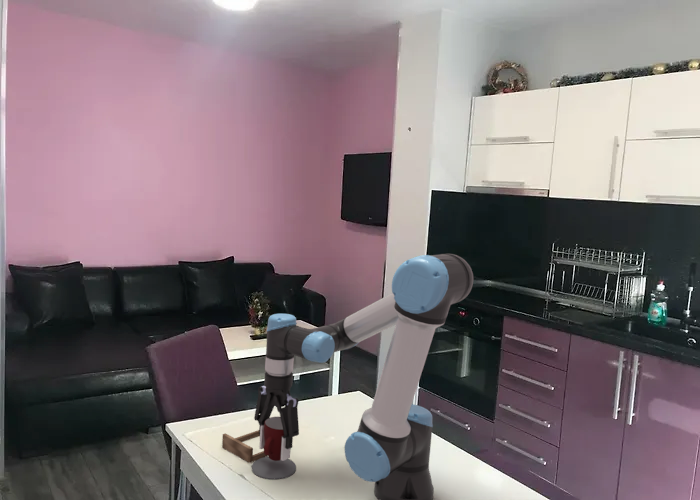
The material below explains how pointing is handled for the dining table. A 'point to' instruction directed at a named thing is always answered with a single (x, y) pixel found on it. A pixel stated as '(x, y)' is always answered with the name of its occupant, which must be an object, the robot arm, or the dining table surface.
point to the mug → (273, 438)
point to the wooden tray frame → (242, 446)
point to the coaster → (273, 468)
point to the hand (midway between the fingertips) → (274, 453)
